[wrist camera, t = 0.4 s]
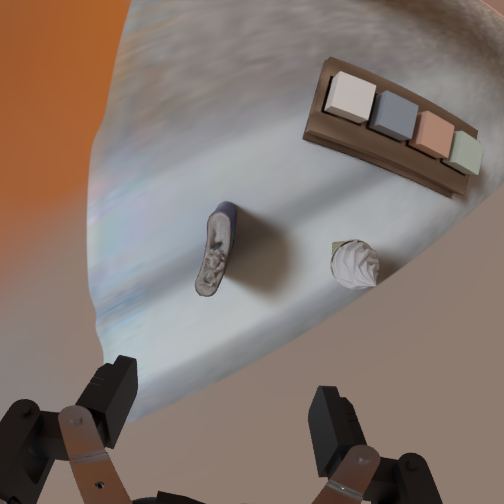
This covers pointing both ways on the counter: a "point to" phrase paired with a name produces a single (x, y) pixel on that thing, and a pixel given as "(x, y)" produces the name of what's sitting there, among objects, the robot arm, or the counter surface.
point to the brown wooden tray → (379, 144)
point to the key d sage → (465, 153)
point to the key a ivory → (350, 97)
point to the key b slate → (394, 116)
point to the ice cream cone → (354, 264)
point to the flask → (217, 248)
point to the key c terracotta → (432, 135)
